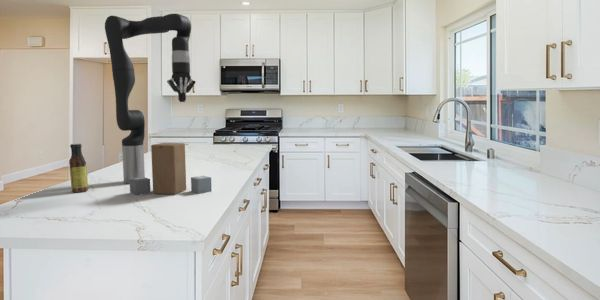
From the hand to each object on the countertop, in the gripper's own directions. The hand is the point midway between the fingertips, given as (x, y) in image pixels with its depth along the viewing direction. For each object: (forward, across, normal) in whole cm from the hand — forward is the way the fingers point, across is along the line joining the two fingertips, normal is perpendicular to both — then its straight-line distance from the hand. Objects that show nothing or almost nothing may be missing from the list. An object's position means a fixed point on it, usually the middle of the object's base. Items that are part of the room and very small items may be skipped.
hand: (182, 101), depth 188 cm
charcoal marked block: (+37, +22, +4) cm, 43 cm away
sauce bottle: (+37, +39, -17) cm, 57 cm away
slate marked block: (+37, +2, +18) cm, 41 cm away
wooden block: (+37, +12, +10) cm, 40 cm away
